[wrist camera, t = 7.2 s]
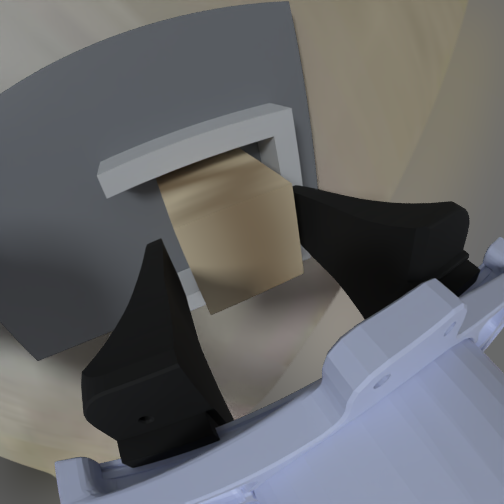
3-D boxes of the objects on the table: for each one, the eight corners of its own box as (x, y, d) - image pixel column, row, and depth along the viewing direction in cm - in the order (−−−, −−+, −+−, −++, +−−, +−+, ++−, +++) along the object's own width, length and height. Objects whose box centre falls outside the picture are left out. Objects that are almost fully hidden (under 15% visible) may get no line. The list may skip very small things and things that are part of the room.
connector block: (183, 248, 15) (210, 315, 11) (155, 177, 13) (173, 229, 9) (254, 218, 16) (303, 273, 12) (238, 147, 14) (292, 183, 10)
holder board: (38, 349, 16) (35, 385, 13) (-82, 166, 7) (-111, 188, 5) (313, 232, 20) (340, 257, 17) (278, 4, 11) (312, -6, 9)
